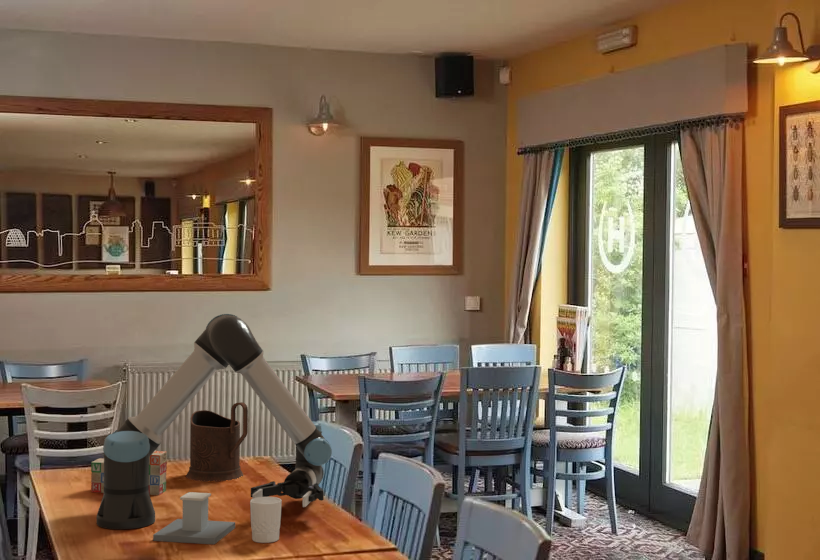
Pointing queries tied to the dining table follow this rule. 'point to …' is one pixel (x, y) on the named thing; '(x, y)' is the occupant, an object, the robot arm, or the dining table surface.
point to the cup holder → (216, 445)
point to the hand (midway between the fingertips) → (278, 500)
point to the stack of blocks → (155, 473)
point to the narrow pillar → (194, 523)
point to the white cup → (265, 519)
